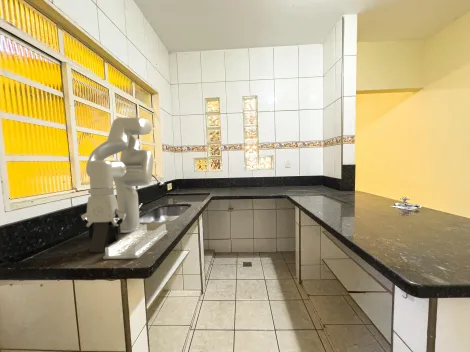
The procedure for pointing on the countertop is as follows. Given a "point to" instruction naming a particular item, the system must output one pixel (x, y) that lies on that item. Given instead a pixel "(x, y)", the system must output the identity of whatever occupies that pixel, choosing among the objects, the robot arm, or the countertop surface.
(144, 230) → the aluminium track
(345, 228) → the countertop surface
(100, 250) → the phone stand
